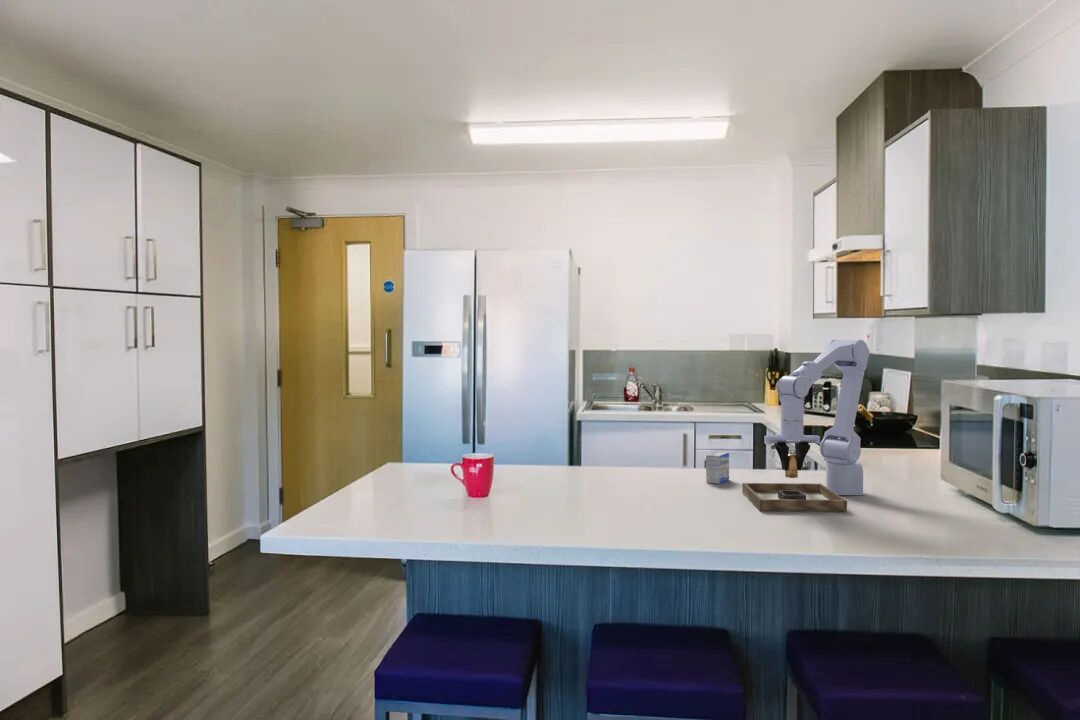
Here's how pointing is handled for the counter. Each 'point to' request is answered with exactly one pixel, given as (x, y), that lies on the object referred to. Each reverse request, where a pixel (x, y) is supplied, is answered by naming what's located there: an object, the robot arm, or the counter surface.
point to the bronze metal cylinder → (792, 466)
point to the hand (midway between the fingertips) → (791, 469)
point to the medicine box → (717, 467)
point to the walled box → (793, 497)
